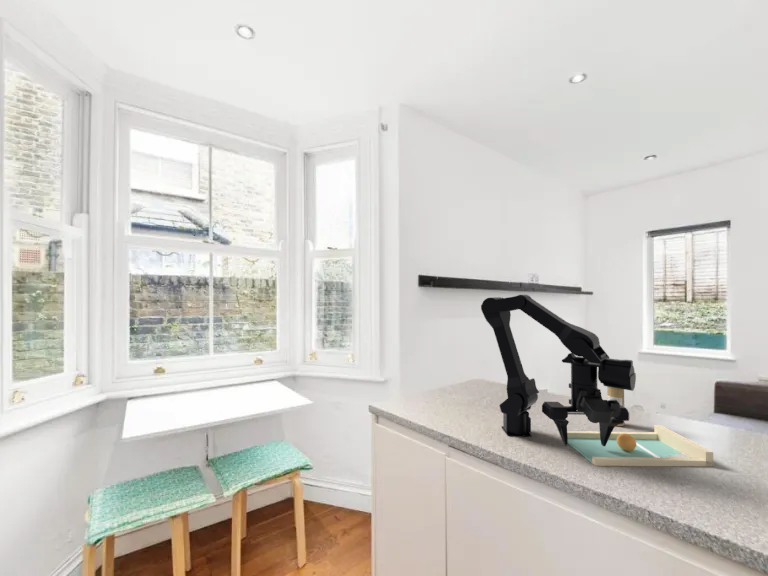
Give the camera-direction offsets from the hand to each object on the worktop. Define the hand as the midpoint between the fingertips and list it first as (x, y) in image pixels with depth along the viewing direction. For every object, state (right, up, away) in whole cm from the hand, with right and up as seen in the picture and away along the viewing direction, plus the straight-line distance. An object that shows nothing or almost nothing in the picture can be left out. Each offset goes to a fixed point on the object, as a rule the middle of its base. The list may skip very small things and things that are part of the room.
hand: (584, 445), depth 87 cm
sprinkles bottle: (+20, -2, +18) cm, 27 cm away
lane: (+11, -2, 0) cm, 11 cm away
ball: (+10, +1, 0) cm, 10 cm away
